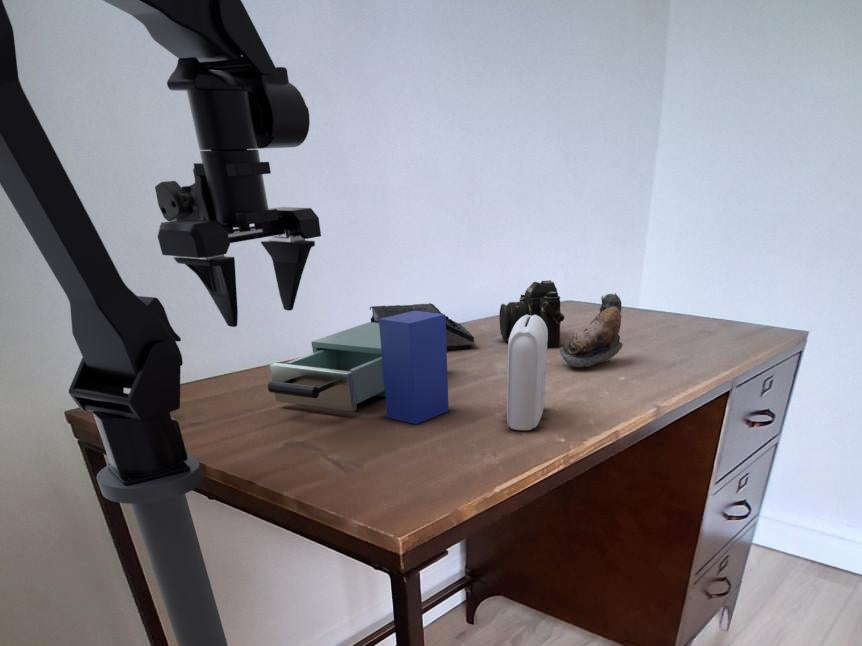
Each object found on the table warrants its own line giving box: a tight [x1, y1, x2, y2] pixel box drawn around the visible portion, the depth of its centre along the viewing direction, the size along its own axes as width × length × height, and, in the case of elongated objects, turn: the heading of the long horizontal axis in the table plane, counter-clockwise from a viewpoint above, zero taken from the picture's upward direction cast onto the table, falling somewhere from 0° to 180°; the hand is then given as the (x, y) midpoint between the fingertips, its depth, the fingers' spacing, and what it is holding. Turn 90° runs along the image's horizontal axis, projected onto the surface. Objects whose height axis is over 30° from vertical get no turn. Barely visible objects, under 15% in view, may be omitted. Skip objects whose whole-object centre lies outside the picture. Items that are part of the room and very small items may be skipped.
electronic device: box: [369, 302, 475, 351], centre depth 122 cm, size 12×17×6 cm
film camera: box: [499, 279, 565, 348], centre depth 123 cm, size 18×12×10 cm
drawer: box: [267, 349, 385, 413], centre depth 92 cm, size 19×12×5 cm, turn 156°
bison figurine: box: [559, 292, 624, 369], centre depth 108 cm, size 12×7×10 cm, turn 135°
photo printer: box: [506, 315, 548, 431], centre depth 84 cm, size 10×4×12 cm, turn 169°
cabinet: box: [311, 321, 385, 398], centre depth 102 cm, size 16×14×7 cm
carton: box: [379, 311, 449, 425], centre depth 86 cm, size 7×5×12 cm
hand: (261, 317), depth 77 cm, fingers open, 9 cm apart
